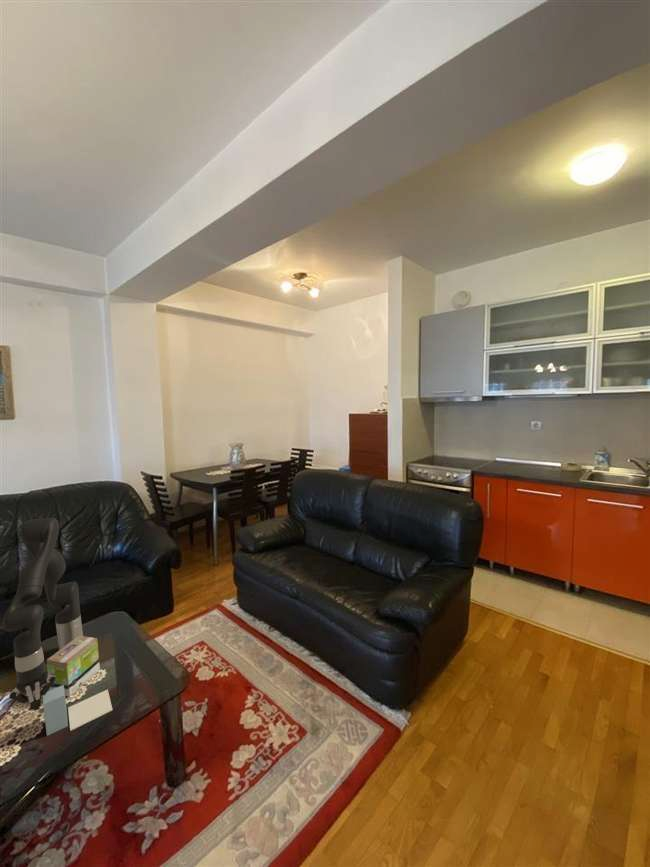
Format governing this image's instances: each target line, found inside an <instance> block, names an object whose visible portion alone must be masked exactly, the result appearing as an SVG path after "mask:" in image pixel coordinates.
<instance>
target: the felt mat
mask: <svg viewBox="0 0 650 867" xmlns="http://www.w3.org/2000/svg"><path fill="white" fill-rule="evenodd" d="M110 697H111V696H110V694H109V690H108V689H106V690H104V691H101V692H99V693H96V694H94V695H93V696H90V697H88V698H85V699H84V700H81V701H79V702H77V703H75V704H73V705H71V706H69V707H67V714H68V721H69V722H68V723H69V731H70V732H71V731H73V730H76V729H77V728H79V727H82V726H83V725H85V724H88V723H90V722H92V721H93V720H96V719H99V718H100V717H103V715H106V714H108V713H111V712H112V711H113V706H112V703H111V701H112V700H111V698H110Z"/></svg>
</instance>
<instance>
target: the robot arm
mask: <svg viewBox="0 0 650 867" xmlns="http://www.w3.org/2000/svg"><path fill="white" fill-rule="evenodd" d="M59 532H60V523H59V520H58V519H57V518H56V517H46V518H35V519H29V520H26V521H24V522H23V523H22V525H21V526H20V536H21V540H22V542H23V544H24V546H25V547H26V550H28V552H29V554H30V556H31V558H32V560H31V561H30V562H29V563H28V564H27V566H25V567H24V570H23V571H22V573H21V575H19V576H20V577H19V580H18V583H17V584H18V585H17V588H16V594H15V596H14V597H13V599H12V601H11V603H10V606H8V608H7V610H6V612H5V614H4V617H3V619H2V627H3V630H4V631H5V632H8V633H9V632H16V631H22V630H26V631H23V632H21V633H20V634H18V635H17V636H15V638H14V639H13V641H12V642H13V652H14V669H15V673H16V680H17V683H16V687H15V688H14V689H12V690H10V691H9V696H8V697H9V699H11V700H14V701H16V702H19V703H20V704H23V705H24V704H26V703H29V704H30V705H29V706H30V710H31V711H33V712H35V711H37V710H39V709H40V707H41V706H42V698H41V697H43V695H45V694H46V693H47V692H48V691H49V688H50V687H51V685H52V684H53V682H54V681H55V674H52V675H49V674H48V672H47V669H46V662H45V657H44V650H43V647H42V641H41V629H42V628H41V627H42V623H43V619H44V614H45V611H44V608H43V606H41V605H40V604H32V605H27V606H26V604H28V603H30V602H33V601H35V600H37V599H39V598H40V597H41V595H42V593H43V588H44V590H45V594H46V597H47V601H48V602H47V603H48V604H49V606H50V607H51V608H58V607H64V606H66V607H64V608H62V609H61V610H60V611H58V612H57V613H56V614H55V617H54V619H55V620H54V621H55V628H56V635H57V643H58V651H59V650H60V649H62V648H63V647H64V646H66V645H67V644H68V643H70V642H71V641H72V640H74V639H75V638H76V637H77V636H84V633H83V624H82V616H81V606H80V596H79V595H80V592H79V585H78V582H77V581H70V582H66V583H60V584H58V582H59V581H60V579H61V578H62V577H63V576H64V573H65V571H66V568H67V565H66V562H65V558H64V556H63V554H62V553H61V552H60V551H59V550H57V549H56V548H55V546H56V544H57V540H58V537H59V535H60V534H59ZM67 605H68V606H67ZM27 629H28V630H27ZM43 685H44V686H43ZM21 692H22V693H21ZM34 693H35V695H34Z"/></svg>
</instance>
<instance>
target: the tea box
mask: <svg viewBox="0 0 650 867" xmlns="http://www.w3.org/2000/svg"><path fill="white" fill-rule="evenodd" d="M98 643H99V642H98V638H97V637H90V636H84V635H83V636H77V637H76V638H75V639H74V640H72V641H71V642H70V643H68V644H67V645H66V646H64V647H63V648H62V649H60V650H59V649H58V651H57V652H54V654H53V655H51V656H50V657H48V658H47V659H46V672H48V674H49V675H52V674H55V681H54V682H53V684H52V685H51V687H50V688H49V690H48V691H50V690H52V689H55V688H57V687H60V686H62V685H64V692H65V697H68V698H70V697H71V696H73V694H74V693H75V692H76V691H78V689H80V688H81V687H83V685H84V684H85V683H86V682H87V681H89V680H90V679H91V678H92V677H93V676H94V675H95V674H97V672H98V671H100V669H101V666H100V657H99V656H100V655H99V644H98Z"/></svg>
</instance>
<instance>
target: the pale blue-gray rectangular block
mask: <svg viewBox="0 0 650 867" xmlns="http://www.w3.org/2000/svg"><path fill="white" fill-rule="evenodd" d="M42 706H43V714H44V724H45V730H46V737H47V736H50V735H52V734H55V733H56V732H58V731H61V730H63V729H64V728H68V727H69V724H68V723H69V722H68V721H69V719H68V709H67V703H66V696H65V692H64V685H62V686H60V687H57V688H55V689H52V690H50V691H49V690H48V691H47V693H46V694H45V695H43V696H42Z"/></svg>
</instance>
